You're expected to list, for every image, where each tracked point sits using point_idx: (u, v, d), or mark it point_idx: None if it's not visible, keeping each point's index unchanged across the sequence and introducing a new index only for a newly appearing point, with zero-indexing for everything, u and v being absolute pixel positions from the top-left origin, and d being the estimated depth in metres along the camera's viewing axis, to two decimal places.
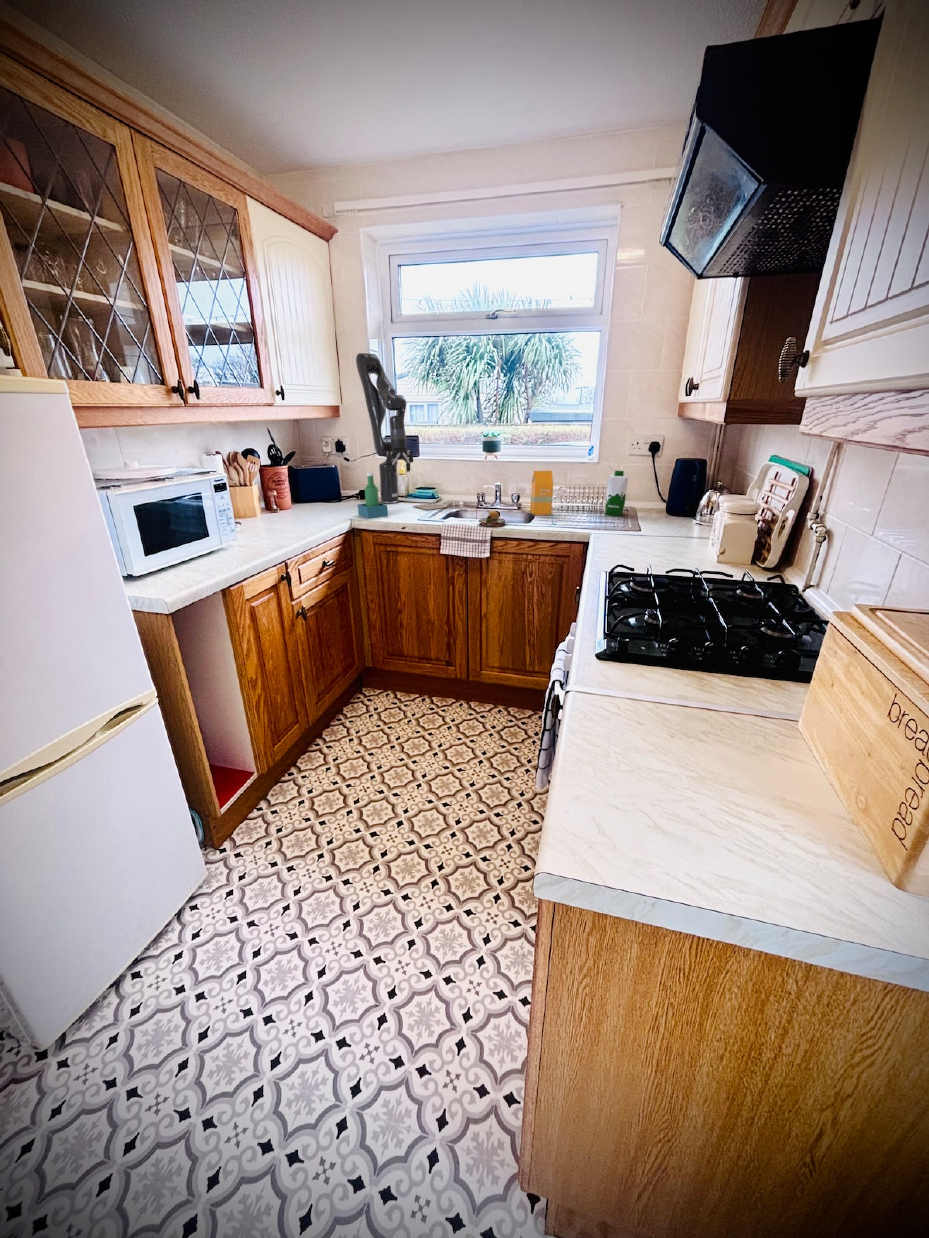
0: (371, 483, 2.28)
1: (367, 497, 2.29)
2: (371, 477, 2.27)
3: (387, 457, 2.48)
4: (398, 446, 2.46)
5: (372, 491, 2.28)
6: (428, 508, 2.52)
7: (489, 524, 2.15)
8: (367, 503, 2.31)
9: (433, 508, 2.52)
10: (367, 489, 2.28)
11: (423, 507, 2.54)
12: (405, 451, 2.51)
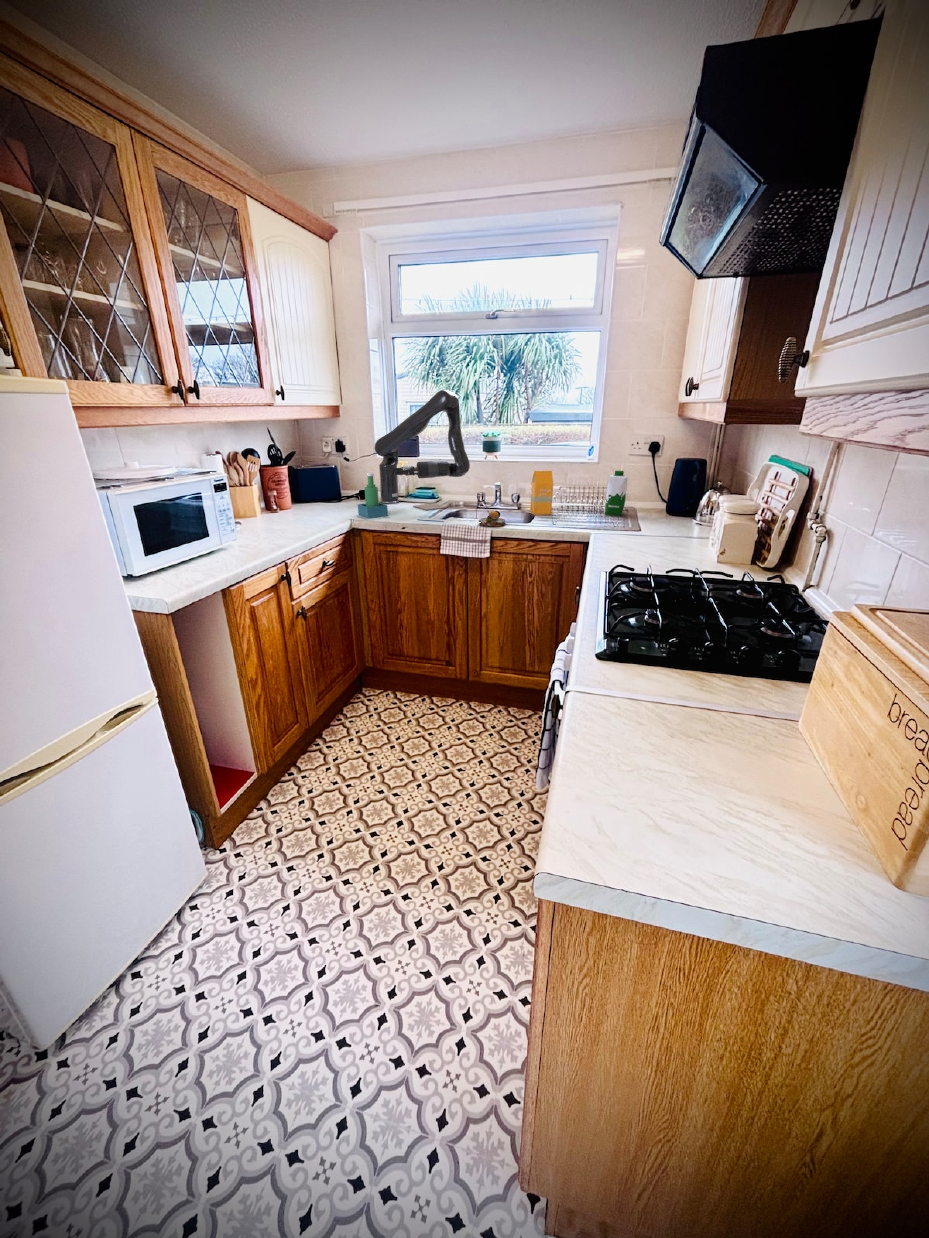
0: (371, 483, 2.28)
1: (367, 497, 2.29)
2: (371, 477, 2.27)
3: (412, 472, 2.26)
4: (421, 477, 2.33)
5: (372, 491, 2.28)
6: (428, 508, 2.52)
7: (489, 524, 2.15)
8: (367, 503, 2.31)
9: (433, 508, 2.52)
10: (367, 489, 2.28)
11: (423, 507, 2.54)
12: None
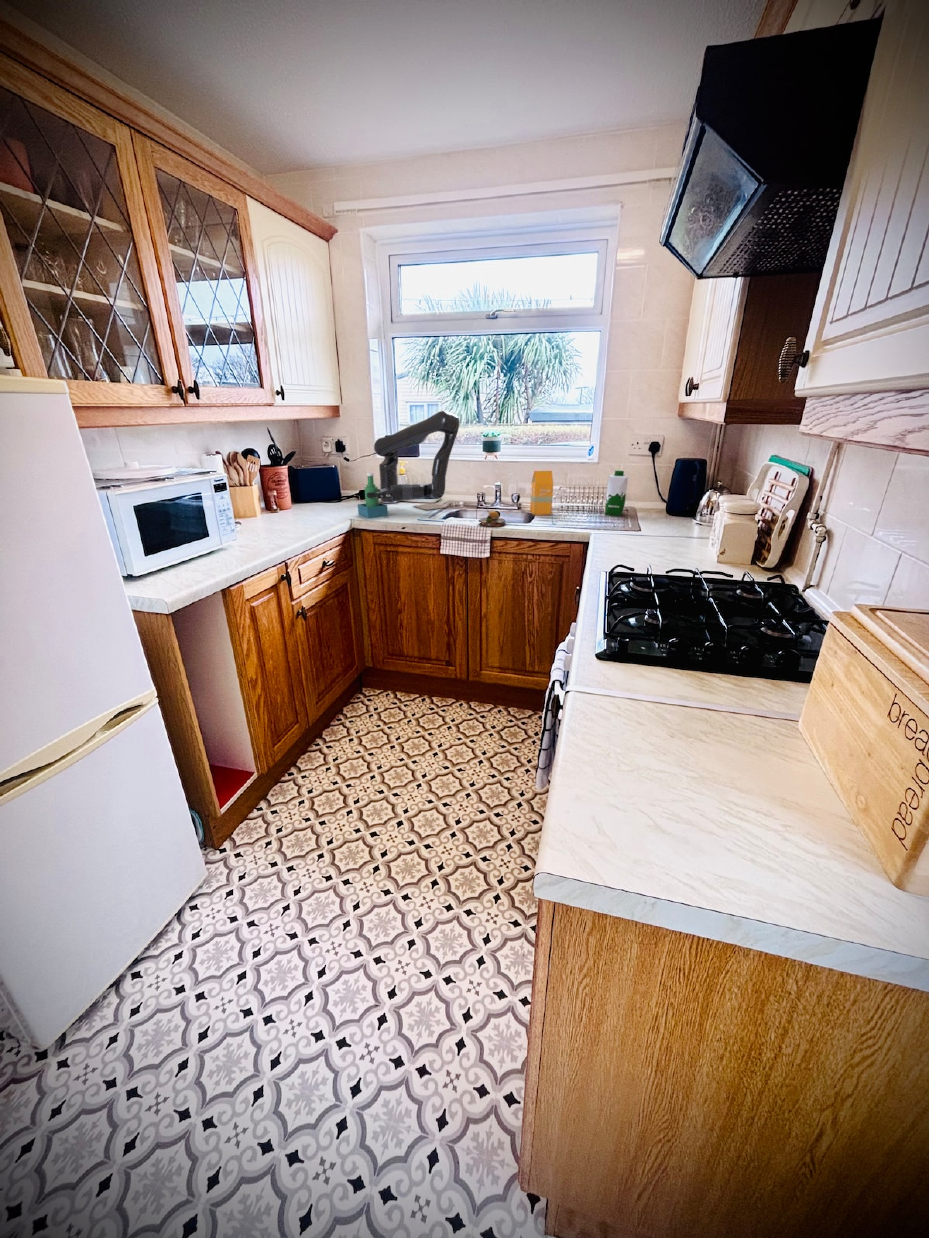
0: (371, 483, 2.28)
1: (367, 497, 2.29)
2: (371, 477, 2.27)
3: (384, 495, 2.27)
4: (395, 500, 2.34)
5: (372, 491, 2.28)
6: (428, 508, 2.52)
7: (489, 524, 2.15)
8: (367, 503, 2.31)
9: (433, 508, 2.52)
10: (367, 489, 2.28)
11: (423, 507, 2.54)
12: None
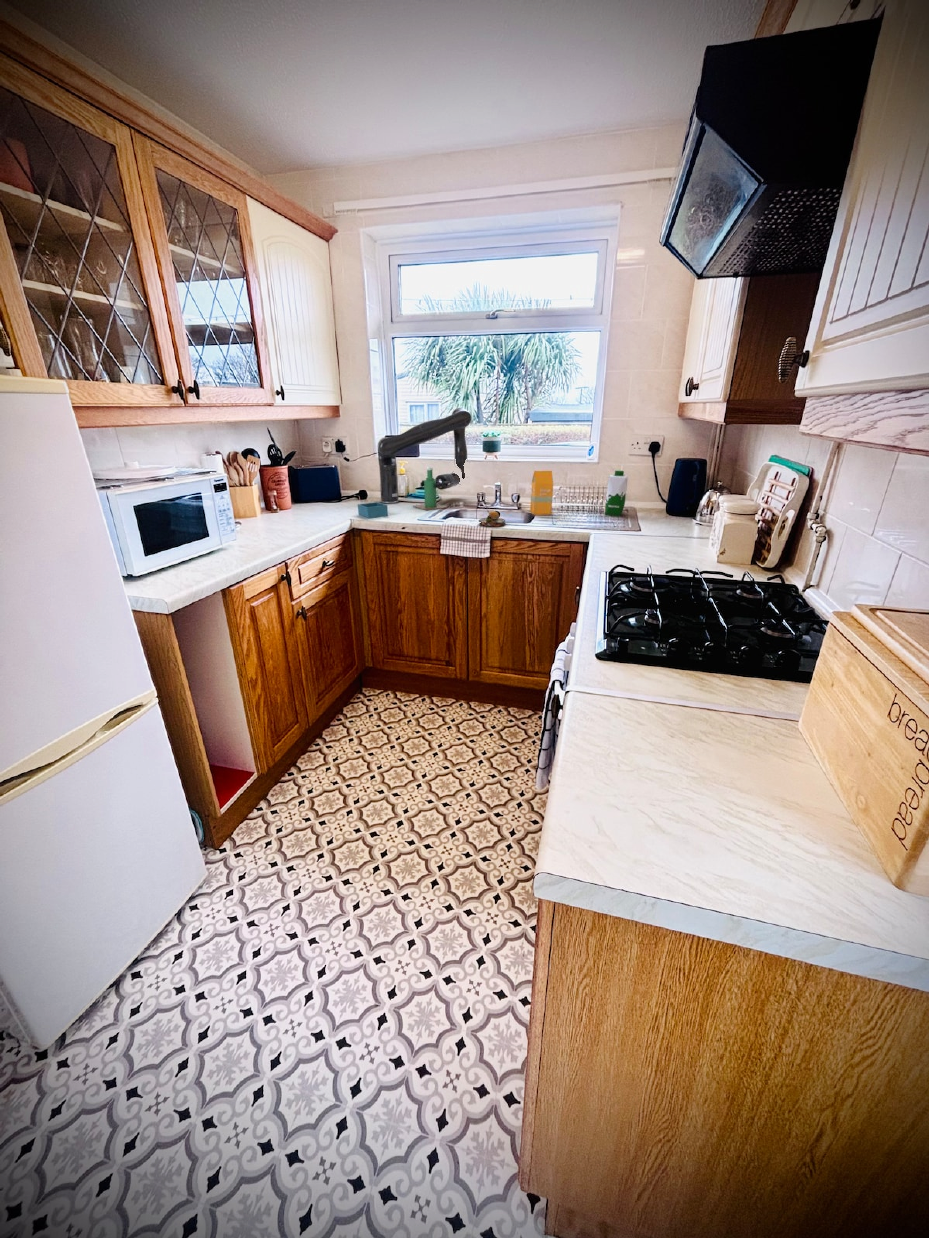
0: (432, 476, 2.51)
1: (431, 489, 2.51)
2: None
3: (447, 484, 2.55)
4: (444, 488, 2.62)
5: None
6: (428, 508, 2.52)
7: (489, 524, 2.15)
8: (430, 495, 2.52)
9: (433, 508, 2.52)
10: (431, 482, 2.50)
11: (423, 507, 2.54)
12: None
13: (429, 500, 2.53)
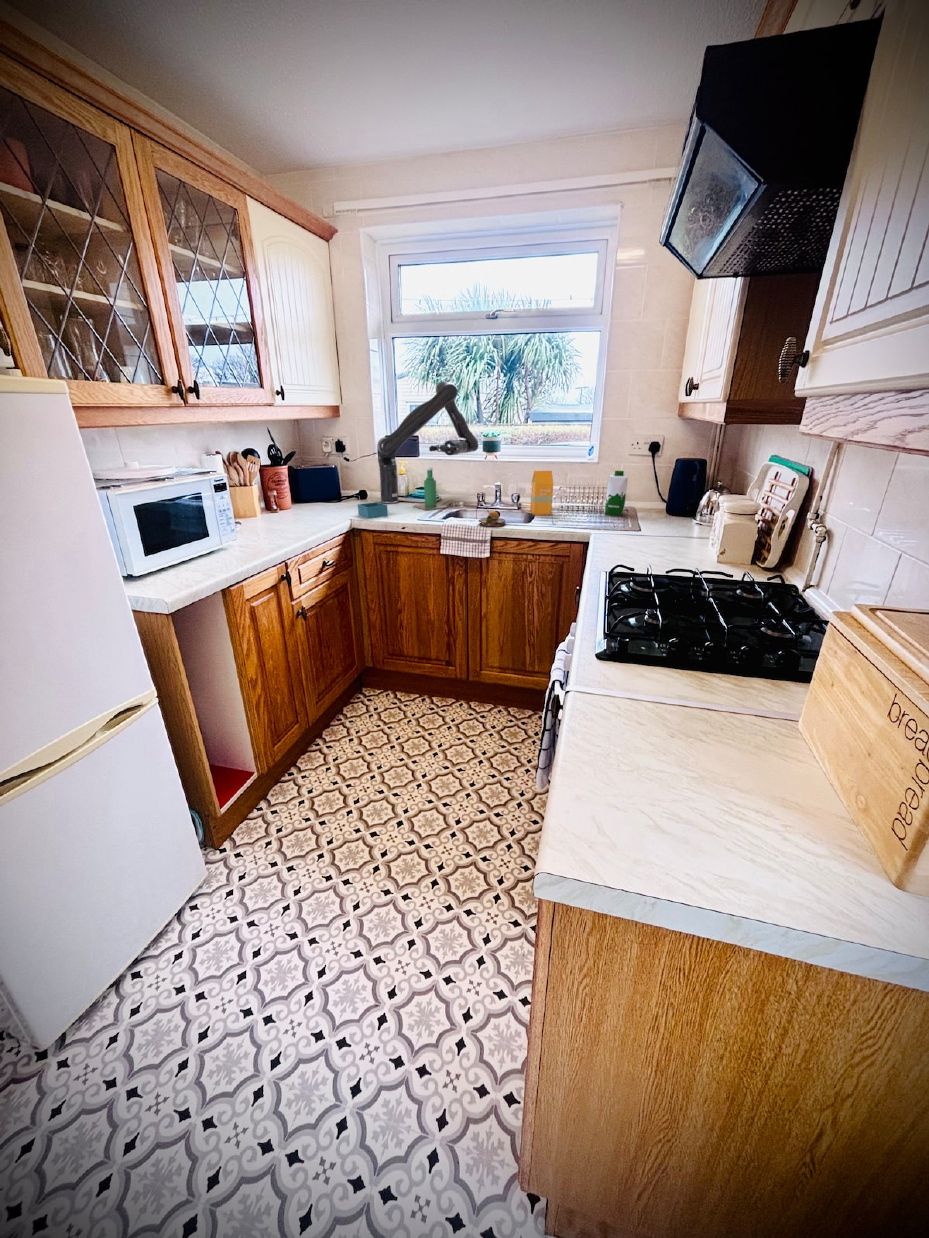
0: (432, 476, 2.51)
1: (431, 489, 2.51)
2: None
3: (456, 448, 2.55)
4: (453, 454, 2.62)
5: (435, 483, 2.52)
6: (428, 508, 2.52)
7: (489, 524, 2.15)
8: (430, 495, 2.52)
9: (433, 508, 2.52)
10: (431, 482, 2.50)
11: (423, 507, 2.54)
12: None
13: (429, 500, 2.53)
